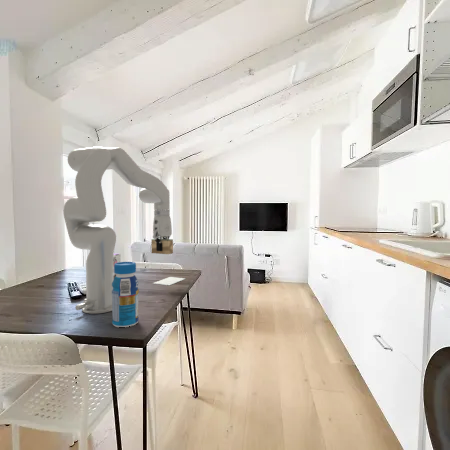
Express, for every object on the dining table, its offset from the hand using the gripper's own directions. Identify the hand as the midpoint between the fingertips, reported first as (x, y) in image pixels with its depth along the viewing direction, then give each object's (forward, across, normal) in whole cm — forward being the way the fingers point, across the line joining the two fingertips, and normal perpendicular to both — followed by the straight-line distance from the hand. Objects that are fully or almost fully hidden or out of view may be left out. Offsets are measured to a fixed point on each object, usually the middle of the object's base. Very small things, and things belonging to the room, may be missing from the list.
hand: (162, 249), depth 146 cm
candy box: (+18, -18, +19) cm, 31 cm away
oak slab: (+2, 0, 0) cm, 2 cm away
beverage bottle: (+17, -48, -18) cm, 54 cm away
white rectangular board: (+18, +8, +1) cm, 20 cm away
